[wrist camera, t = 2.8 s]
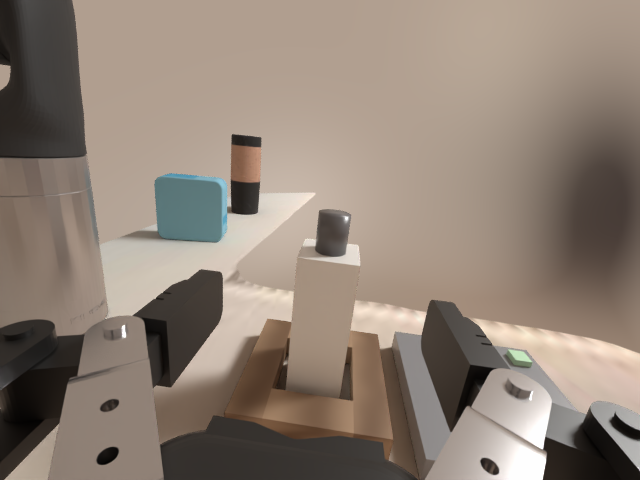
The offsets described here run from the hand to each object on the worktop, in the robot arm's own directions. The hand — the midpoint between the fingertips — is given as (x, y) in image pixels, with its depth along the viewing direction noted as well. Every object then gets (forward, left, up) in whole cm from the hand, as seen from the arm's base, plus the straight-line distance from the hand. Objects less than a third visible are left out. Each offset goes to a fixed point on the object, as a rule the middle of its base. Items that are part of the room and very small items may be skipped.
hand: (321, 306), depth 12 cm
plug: (0, +12, -15) cm, 19 cm away
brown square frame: (0, +12, -15) cm, 19 cm away
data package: (-28, +45, -15) cm, 55 cm away
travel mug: (-26, +70, -15) cm, 76 cm away
